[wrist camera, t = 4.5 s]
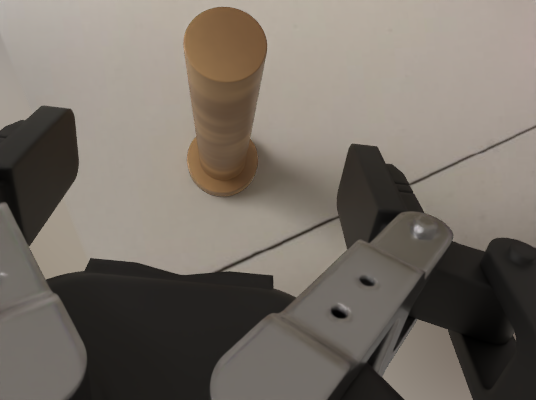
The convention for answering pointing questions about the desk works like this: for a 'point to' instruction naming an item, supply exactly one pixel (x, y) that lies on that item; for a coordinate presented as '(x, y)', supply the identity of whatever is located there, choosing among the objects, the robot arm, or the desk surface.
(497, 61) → the desk surface
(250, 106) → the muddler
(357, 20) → the desk surface
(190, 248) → the desk surface
